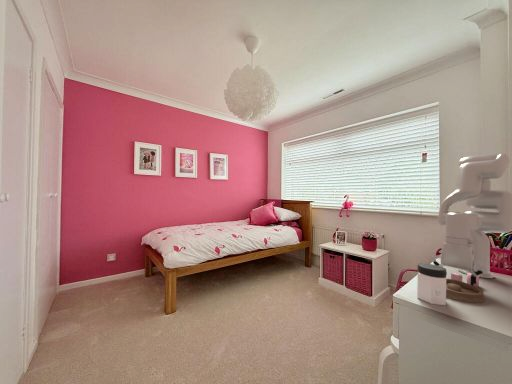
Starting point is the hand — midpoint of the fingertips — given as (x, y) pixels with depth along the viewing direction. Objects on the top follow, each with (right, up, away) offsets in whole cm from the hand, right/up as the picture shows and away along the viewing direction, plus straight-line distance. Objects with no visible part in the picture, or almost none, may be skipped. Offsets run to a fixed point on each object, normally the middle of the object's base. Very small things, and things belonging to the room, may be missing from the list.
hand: (456, 281), depth 90 cm
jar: (-23, -1, -14) cm, 26 cm away
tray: (-8, -1, -7) cm, 11 cm away
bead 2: (+8, -2, +1) cm, 8 cm away
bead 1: (0, -2, 0) cm, 2 cm away
